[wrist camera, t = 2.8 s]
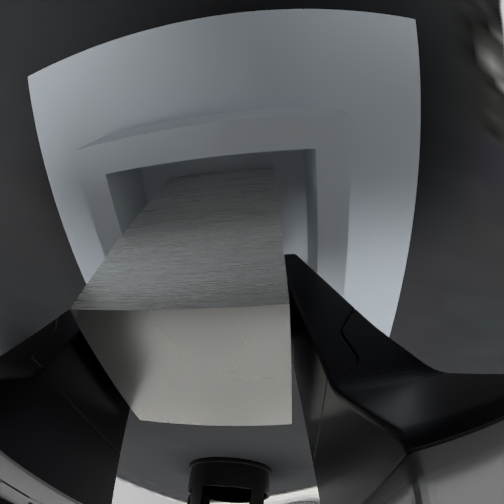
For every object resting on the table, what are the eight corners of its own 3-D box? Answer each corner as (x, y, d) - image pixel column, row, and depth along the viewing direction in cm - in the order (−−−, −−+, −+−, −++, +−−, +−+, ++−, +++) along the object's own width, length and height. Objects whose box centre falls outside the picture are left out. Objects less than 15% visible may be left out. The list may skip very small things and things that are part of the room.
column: (280, 271, 14) (291, 433, 7) (190, 277, 14) (147, 429, 7) (273, 167, 11) (289, 303, 5) (168, 179, 11) (69, 309, 5)
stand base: (386, 332, 16) (406, 388, 13) (121, 344, 18) (100, 396, 14) (409, 20, 8) (467, 6, 5) (34, 75, 10) (-30, 87, 6)
